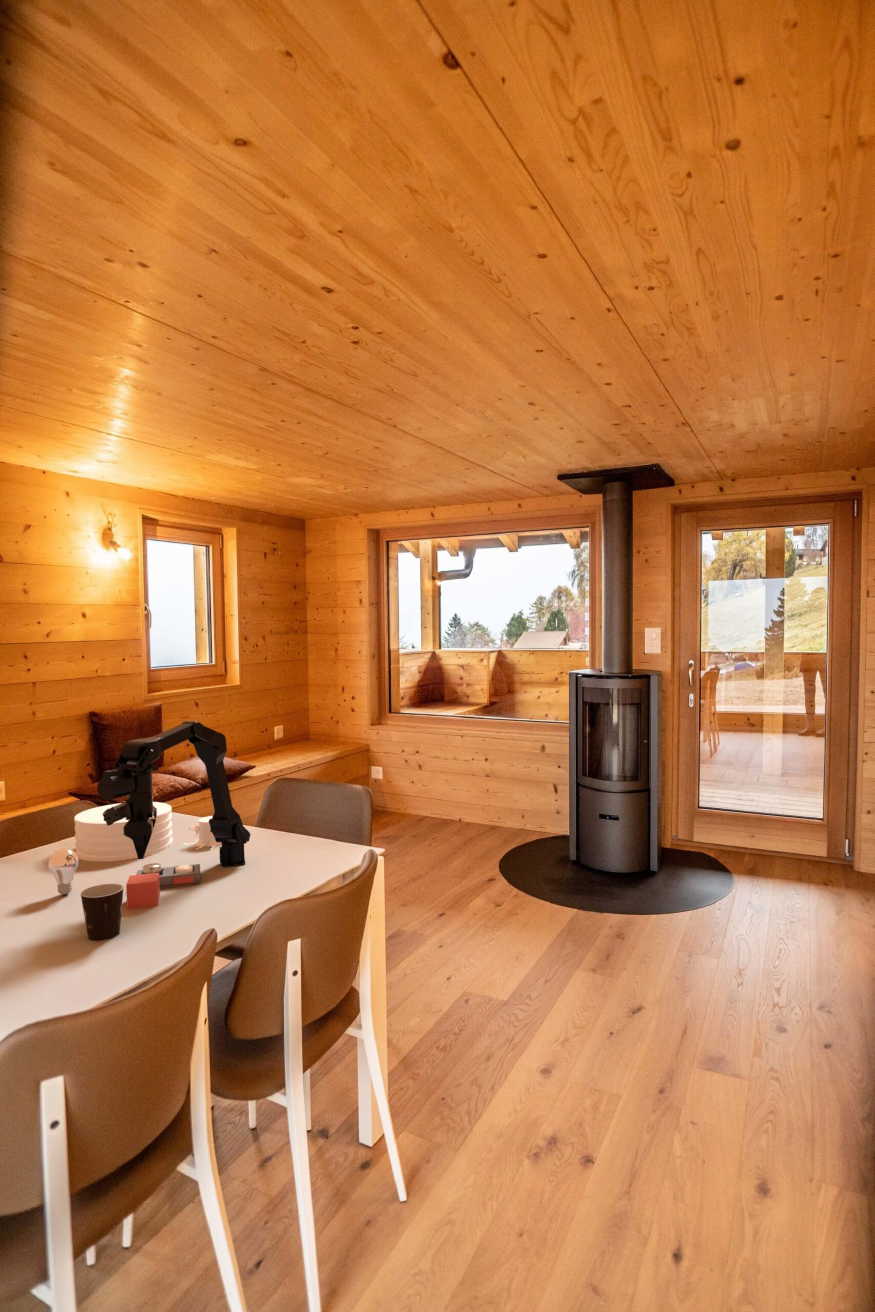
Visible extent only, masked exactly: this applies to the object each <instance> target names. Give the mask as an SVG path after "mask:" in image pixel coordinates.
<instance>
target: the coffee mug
mask: <svg viewBox="0 0 875 1312" xmlns="http://www.w3.org/2000/svg"><path fill="white" fill-rule="evenodd" d="M123 898H124V885H122V884H120V883H102V884H97V885H94V886H90V887H87V888H85V889H83V890H82V891H81V892H80V899H81V904H82V910H83V916H84V922H85V923H84V924H85V929H86V934H87V935H86V936H87V939H88V940H89V941H92V942H102V941H107V940H111V939H114V938H116V937H118V936H119V935H120V932H121V923H122V921H121V920H122V909H123V908H122V907H123V900H124V899H123Z"/></svg>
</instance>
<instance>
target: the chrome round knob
mask: <svg viewBox="0 0 875 1312" xmlns="http://www.w3.org/2000/svg"><path fill="white" fill-rule="evenodd" d="M161 868H162V865H161V863H157V862H154V863H148V864H144V865H143V866H142V870H143V874H150V873H159V874H161Z"/></svg>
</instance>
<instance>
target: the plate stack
mask: <svg viewBox="0 0 875 1312" xmlns="http://www.w3.org/2000/svg"><path fill="white" fill-rule="evenodd" d="M121 803H122V802H121ZM121 803H113V804H107V805H103V806H102V805H101V806H96V807H93V808H89V809H87V810H86V809H85V810H83V811H81V812H79V813H77V814H76V815H74V818H73V819H74V832H75V833H74V840H75V842H74V843H75V845H74V846H75V852H76V854H77V855H78V858H79V860H84V861H89V862H119V861H125V860H126V859H128V860H134V859H138V856H137V853H136V850H135V846H134V843H133V840H132V839H130V838H129V837H126V836H125V835H124V829H123V827H124V825H125V824H126V823H127V822H128V821H129V820H126V817H125V818H124V819H121V820H119V821H117V822H114V823H113V824H112V825H109V826H107V823H106V821H104V817H103V815H102V814H103V812H104V811H105V810H107V809H109V808H111V807H112V806H117V805H119V804H121ZM153 806H154V807H156V808H157V818H154V816H153V817H152V818H150V819H156V822H155V825H154V828H153V832H152V835H151V838H150V841H149V843H148V846H147V849H146V852H145V855H144V857H148V856H151V855H155V854H157V853H161V852H163V851H165V850H167V849H169V848H170V847H171V846H172V845H173V843H174V842H173V830H172V829H173V823H172V820H173V816H172V809H173V808H172V806H171V805H170V804H168V803H164V802H158V801H153ZM133 858H134V859H133Z"/></svg>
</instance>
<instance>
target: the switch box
mask: <svg viewBox="0 0 875 1312" xmlns="http://www.w3.org/2000/svg"><path fill="white" fill-rule="evenodd" d="M190 865H191V866H193V872H187V873H178V874H175V868H176V867H179V866H180V865H176V866H168V867H167V866H166V867H161V874H159V880H160V889H164V888H165V889H166V888H176V887H182V886H183V887H185V886H192V885H200V884H201V883H200V882H201V863H195V864H190ZM141 874H143V869H140V870H139V869H138V870H137V871H136V874H135V875H141Z"/></svg>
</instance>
